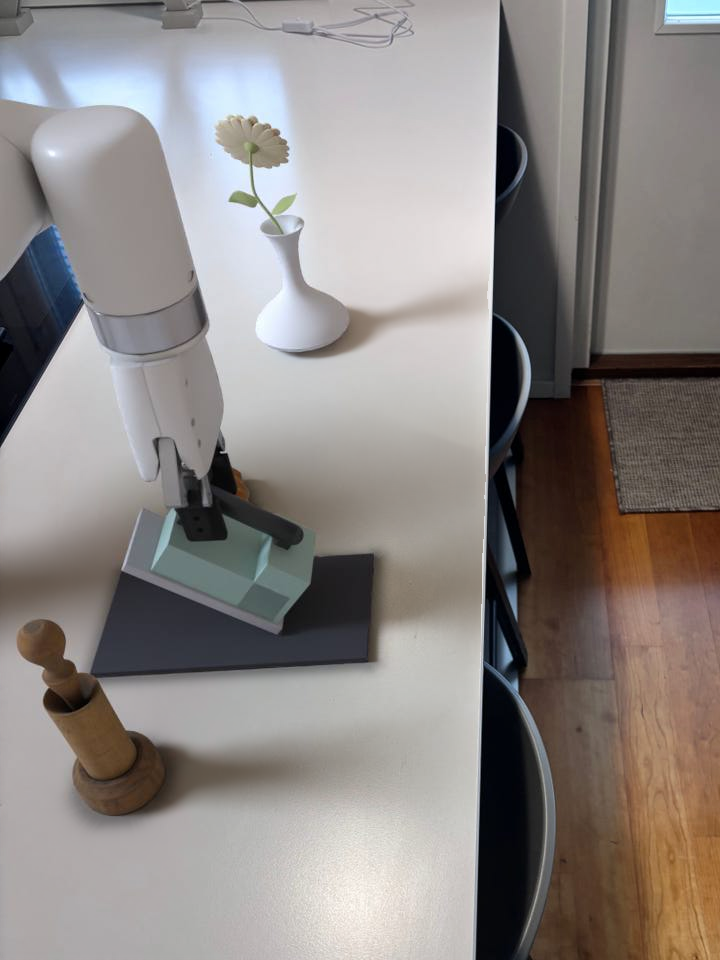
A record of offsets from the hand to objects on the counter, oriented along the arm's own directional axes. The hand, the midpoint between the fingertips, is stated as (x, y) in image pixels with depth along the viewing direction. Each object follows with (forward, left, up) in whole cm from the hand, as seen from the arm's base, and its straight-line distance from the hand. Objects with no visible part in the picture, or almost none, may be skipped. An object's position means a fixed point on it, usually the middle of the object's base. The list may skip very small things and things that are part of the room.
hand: (213, 514), depth 80 cm
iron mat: (-1, 0, -12) cm, 12 cm away
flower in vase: (0, +47, -12) cm, 49 cm away
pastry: (-5, +15, -12) cm, 20 cm away
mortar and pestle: (-8, -17, -12) cm, 23 cm away
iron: (-2, 0, -7) cm, 7 cm away
